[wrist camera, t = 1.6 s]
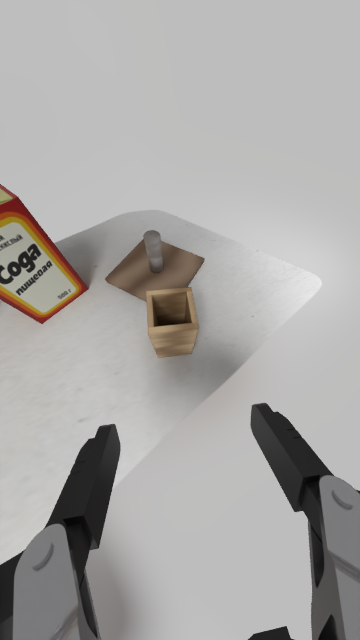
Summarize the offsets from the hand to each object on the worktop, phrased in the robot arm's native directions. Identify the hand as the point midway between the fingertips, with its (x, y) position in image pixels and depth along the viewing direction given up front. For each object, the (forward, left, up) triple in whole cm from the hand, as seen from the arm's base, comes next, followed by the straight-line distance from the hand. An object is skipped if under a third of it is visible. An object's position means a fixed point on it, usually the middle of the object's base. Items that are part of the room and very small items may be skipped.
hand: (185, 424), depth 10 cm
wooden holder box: (-6, +8, -14) cm, 18 cm away
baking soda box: (-29, +6, -14) cm, 33 cm away
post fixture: (-16, +20, -14) cm, 29 cm away
